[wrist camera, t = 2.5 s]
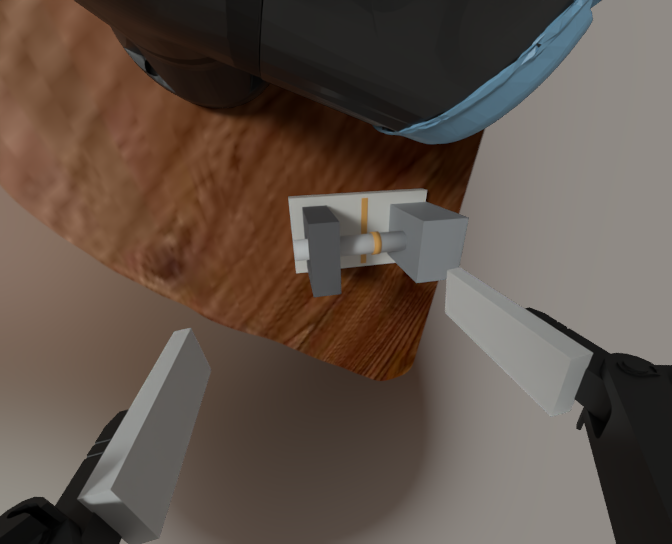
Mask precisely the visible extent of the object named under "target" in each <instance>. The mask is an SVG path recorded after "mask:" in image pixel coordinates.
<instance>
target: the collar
mask: <svg viewBox="0 0 672 544" xmlns="http://www.w3.org/2000/svg"><path fill="white" fill-rule="evenodd" d="M302 213H303V225H304V237H305V239H308V248H309V260H307V269H308V273H309V278H310V282H311V287H312V291H313V296H314V297H320V296H328V295H336V294H341V262H340V222H339V220H338V219H337V218H336V217H335V215H334V214H333V213H332V212H331V210H330V209H329V208H328V207H327V205H324V206H309V207H302Z"/></svg>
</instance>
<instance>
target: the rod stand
mask: <svg viewBox="0 0 672 544" xmlns="http://www.w3.org/2000/svg"><path fill="white" fill-rule="evenodd" d="M426 195H427V190H425V189H422V188H421V189H404V190H388V191H371V192H355V193H338V194H322V195H305V196H289V197H288V200H289V209H290V219H291V228H292V238H293V247H294V257H295V266H296V273H304V272H308V269H307V260H309V248H308V239H305V237H304V225H303V213H302V207H309V206H324V205H327V207H328V208H329V209H330V210H331V212H332V213H333V214H334V215H335V217H336V218H337V219H338V220H339V222H340V262H341V268H350V267H359V266H369V265H378V264H387V263H397V264H398V265H399V266H400V267H401V268H402V269H403V270H404V271H405V272H406V273H407V274H408V275H409V276H410V277H411V278H412V279H413V280H414V281H415V282H416V283H421V282H429V281H437V280H445V279H447V270H450V269H454V268H459V265H460V260H461V255H462V250H463V245H464V240H465V235H466V230H467V224H468V219H469V218H468V217H465V216H463V215H460V214H457V213H455V212H452V211H449V210H447V209H444V208H441V207H439V206H436V205H433V204H431V203H428V202H426Z"/></svg>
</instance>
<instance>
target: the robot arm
mask: <svg viewBox="0 0 672 544" xmlns="http://www.w3.org/2000/svg"><path fill="white" fill-rule="evenodd" d="M74 1H76V2H77V3H78V4H80V5H81V6H83V7H84V8H85V9H87V10H88V11H90V12H91V13H93V14H94V15H95V16H97V17H98V18H100V19H101V20H102V21H104V22H105V23H107V24H108V25H110V27H111V28H112V30H113V32H114V34H115V35H116V37H117V39H118V40H119V42H120V43H121V45H122V46H123V48H124V49H125V50H126V52H127V53H128V54H129V56H130V57H131V58H132V59H133V60H134V62H135V63H136V64H137V65H138V66H139V67H140V68H141V69H142V70H143V71H144V72H145V73H146V74H147V75H148V76H149V77H151V78H152V79H153V80H154V81H155V82H157V83H158V84H159V85H160V86H162V87H163V88H165V89H166V90H168V91H170V92H171V93H173V94H175V95H177V96H179V97H181V98H183V99H185V100H187V101H189V102H192V103H194V104H197V105H201V106H205V107H210V108H231V107H236V106H239V105H242V104H245V103H247V102H249V101H251V100H252V99H254V98H255V97H257V96H258V95H259V94H261V93H262V92H263V91H264V90H265V89H266V87H267V86H268V85H269V84H270V83H271V84H274V85H276V86H279V87H281V88H284V89H286V90H289V91H291V92H293V93H296V94H298V95H301V96H303V97H306V98H308V99H311V100H313V101H315V102H318V103H320V104H323V105H325V106H328V107H330V108H333V109H335V110H338V111H340V112H342V113H345V114H347V115H350V116H352V117H355V118H357V119H360V120H362V121H364V122H367V123H369V124H372V125H373V127H374V128H375V129H376V130H378V131H380V132H382V133H385V134H388V135H401V136H404V137H407V138H410V139H412V140H415V141H418V142H421V143H425V144H444V143H451V142H455V141H458V140H461V139H464V138H466V137H469V136H471V135H473V134H475V133H477V132H479V131H481V130H483V129H485V128H486V127H488V126H490V125H491V124H493V123H494V122H496V121H497V120H499V119H500V118H501V117H503V116H504V115H505V114H507V113H508V112H509V111H510V110H512V109H513V108H515V107H516V106H517V105H518V104H520V103H521V102H522V101H523V100H524V99H525V98H526V97H528V96H529V95H530V94H531V93H532V92H533V91H534V90H535V89H536V88H537V87H538V86H540V85H541V83H543V82H544V81H545V79H546V78H548V76H549V75H550V74H551V73H552V72H553V71H554V70H555V69H556V68H557V67H558V66H559V65H560V63H561V62H562V61H563V60H564V59H565V58H566V56H567V55H568V54H569V53H570V52H571V50H572V49H573V48H574V47H575V45H576V44H577V43H578V41H579V40H580V39H581V37H582V36H583V35H584V34H585V32H586V31H587V29H588V28H589V26H590V24H591V23H592V20H593V18H592V12H591V10H590V9H591V8H592V7H593V6H595V5H596V4H597V3H599V2H600V1H601V0H74ZM445 313H446V314H447V315H448V316H449V317H450V318H451V319H452V320H453V321H454V322H455V323H456V324H457V325H458V326H459V327H460V328H461V329H462V330H463V331H464V332H465V333H466V334H467V335H468V336H469V337H470V338H471V339H472V340H473V341H474V342H475V343H476V344H477V345H478V346H479V347H481V349H482V350H484V352H485V353H486V354H487V355H488V356H490V357H491V358H492V359H493V360H494V361H495V362H496V363H497V364H498V365H499V366H500V367H501V368H502V369H503V370H504V371H505V372H506V373H507V374H508V375H509V376H510V377H511V378H512V379H513V380H514V381H515V382H516V383H517V384H518V385H519V386H520V387H521V388H522V389H523V390H524V391H525V392H526V393H527V394H528V395H529V396H530V397H531V398H532V399H533V400H534V401H535V402H536V403H537V404H538V405H539V406H540V407H541V408H543V409H544V411H546V412H547V413H548V414H549V415H550V416H551V417H553V416H556V415H559V414H563V413H566V412H569V411H570V410H571V408H572V405H573V403H574V400H577V401H578V402H579V403H580V404H581V405H582V406H584V408H583V410H582V413H581V415H580V417H579V420H578V422H577V429H578V430H581V428H582V426H583V424H584V423H585V427H586V431H587V434H588V438H589V442H590V446H591V449H592V453H593V457H594V461H595V464H596V468H597V472H598V476H599V480H600V483H601V487H602V491H603V495H604V499H605V502H606V506H607V510H608V514H609V518H610V522H611V525H612V529H613V533H614V537H615V540H616V544H672V365H654V364H652V363H651V362H649V361H646V360H644V359H642V358H639V357H637V356H633V355H629V354H623V353H613V354H610V353H608V352H607V351H605V350H603V349H602V348H600V347H598V346H597V345H595V344H594V343H592V342H591V341H589V340H587V339H586V338H584V337H582V336H580V335H579V334H577V333H576V332H574V331H573V330H571V329H567V327H566V326H564V325H563V324H561V323H560V322H557V321H556V320H554V319H553V318H551V317H549V316H548V315H547V314H545V313H543V312H540V311H537V310H535V309H532V308H523V307H521V306H520V305H518V304H517V303H515V302H514V301H512V300H510V299H509V298H507V297H506V296H504V295H503V294H501V293H500V292H498V291H497V290H495V289H494V288H492V287H490V286H489V285H487V284H486V283H484V282H483V281H481V280H479V279H478V278H477V277H475V276H473V275H472V274H470V273H469V272H467V271H466V270H464V269H463V268H461V267H459V268H454V269H450V270H447V283H446V301H445ZM210 373H211V368H210V366H209V364H208V362H207V360H206V358H205V356H204V353H203V351H202V349H201V347H200V345H199V343H198V341H197V339H196V337H195V335H194V333H193V331H192V329H191V328H188V329H183V330H179V331H174V333H173V335H172V336H171V338H170V340H169V341H168V343H167V345H166V346H165V348H164V350H163V352H162V353H161V355H160V357H159V359H158V360H157V362H156V364H155V366H154V367H153V369H152V371H151V372H150V374H149V376H148V377H147V379H146V381H145V383H144V384H143V386H142V388H141V390H140V391H139V393H138V395H137V397H136V398H135V400H134V402H133V403H132V405H131V407H130V408H129V410H125V411H121V412H119V413H118V414H117V415H116V416H115V417H114V418H113V419H112V420H111V421H110V422H109V423H108V424H107V425H106V426H105V428H104V429H103V431H102V432H101V434H100V436H99V437H98V439H97V440H96V442H95V445H94V446H93V447H92V448H91V450H90V451H89V453H88V454H87V458H86V459H85V460H84V461H83V462H82V464H81V466H80V467H79V469H78V470H77V472H76V474H75V475H74V477H73V478H72V480H71V481H70V483H69V485H68V486H67V488H66V490H65V491H64V493H63V494H62V496H61V497H60V499H59V501H58V502H57V504H56V505H55V506H54V505H53V504H51V503H50V502H49V501H48V500H46V499H45V498H44V497H33V498H30V499H27V500H25V501H22V502H21V503H19V504H17V505H16V506H14V507H12V508H11V509H9V510H7V511H6V512H5V513H4V514H2V515H1V516H0V544H119V543H120V540H121V538H122V539H123V540H124V541H126V542H127V543H128V544H142V543H145V542H148V541H152V540H155V539H158V538H159V537H160V534H161V531H162V528H163V524H164V521H165V518H166V514H167V511H168V508H169V505H170V502H171V498H172V495H173V492H174V489H175V485H176V482H177V479H178V476H179V472H180V469H181V466H182V463H183V460H184V456H185V453H186V450H187V447H188V443H189V440H190V437H191V434H192V431H193V427H194V424H195V421H196V417H197V415H198V411H199V408H200V405H201V402H202V398H203V395H204V392H205V389H206V385H207V382H208V379H209V376H210Z"/></svg>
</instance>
